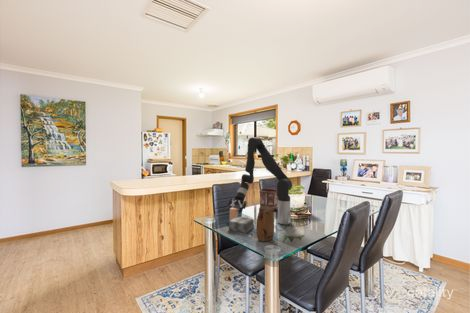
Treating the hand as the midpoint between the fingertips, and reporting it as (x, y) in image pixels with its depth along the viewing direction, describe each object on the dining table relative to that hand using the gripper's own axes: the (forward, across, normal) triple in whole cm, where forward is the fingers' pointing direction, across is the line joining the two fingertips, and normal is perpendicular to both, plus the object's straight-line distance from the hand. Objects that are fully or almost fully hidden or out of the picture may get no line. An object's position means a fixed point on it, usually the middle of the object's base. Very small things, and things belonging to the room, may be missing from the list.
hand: (234, 211), depth 176 cm
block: (+20, +33, -10) cm, 40 cm away
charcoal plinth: (+13, +12, -3) cm, 18 cm away
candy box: (-29, +42, +39) cm, 64 cm away
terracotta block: (+6, 0, +4) cm, 7 cm away
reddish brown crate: (-28, +12, +38) cm, 48 cm away
